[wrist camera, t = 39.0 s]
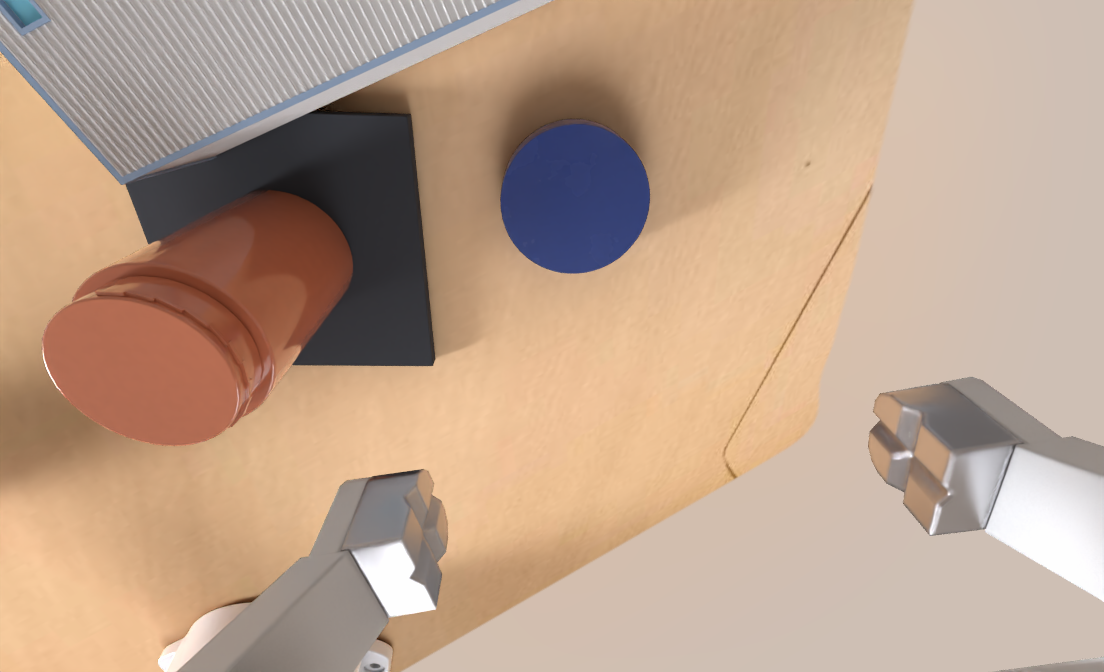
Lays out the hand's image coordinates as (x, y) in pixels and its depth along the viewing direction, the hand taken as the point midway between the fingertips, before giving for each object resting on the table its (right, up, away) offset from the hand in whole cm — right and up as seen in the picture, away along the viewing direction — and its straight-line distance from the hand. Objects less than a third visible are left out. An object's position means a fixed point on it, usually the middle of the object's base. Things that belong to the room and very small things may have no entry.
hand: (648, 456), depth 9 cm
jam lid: (-1, +8, +14) cm, 16 cm away
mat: (-15, +7, +16) cm, 23 cm away
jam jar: (-15, +6, +16) cm, 22 cm away
